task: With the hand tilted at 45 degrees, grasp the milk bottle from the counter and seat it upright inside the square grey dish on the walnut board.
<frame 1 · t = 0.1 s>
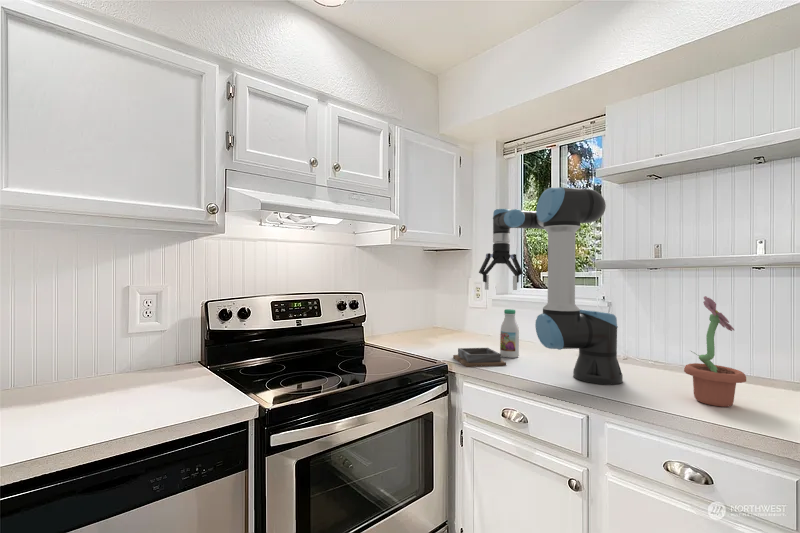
hand: (500, 289, 184), 28 cm above the countertop, tool pointing down, fingers open, 13 cm apart
milk bottle: (509, 356, 173), on the countertop
square grey dish: (478, 361, 162), on the countertop
decorative flower: (714, 404, 113), on the countertop
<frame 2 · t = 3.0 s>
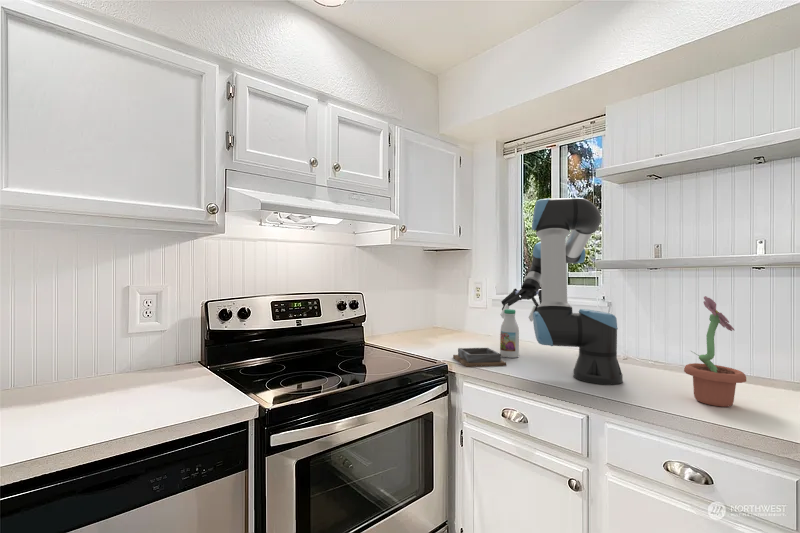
hand: (515, 318, 178), 16 cm above the countertop, tool tilted 45°, fingers open, 13 cm apart
nothing on the countertop moved.
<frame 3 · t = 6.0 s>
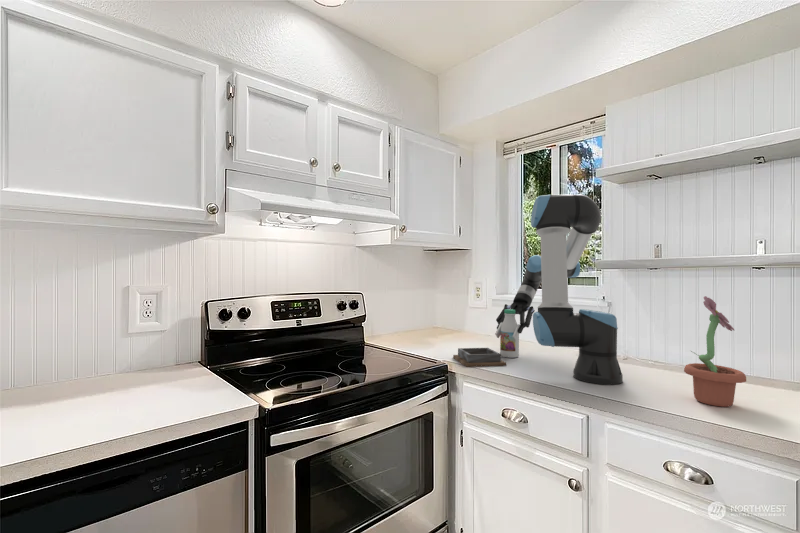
hand: (505, 337, 170), 9 cm above the countertop, tool tilted 45°, fingers closed on milk bottle, 7 cm apart
milk bottle: (509, 356, 173), on the countertop, touching gripper
everything else where it was.
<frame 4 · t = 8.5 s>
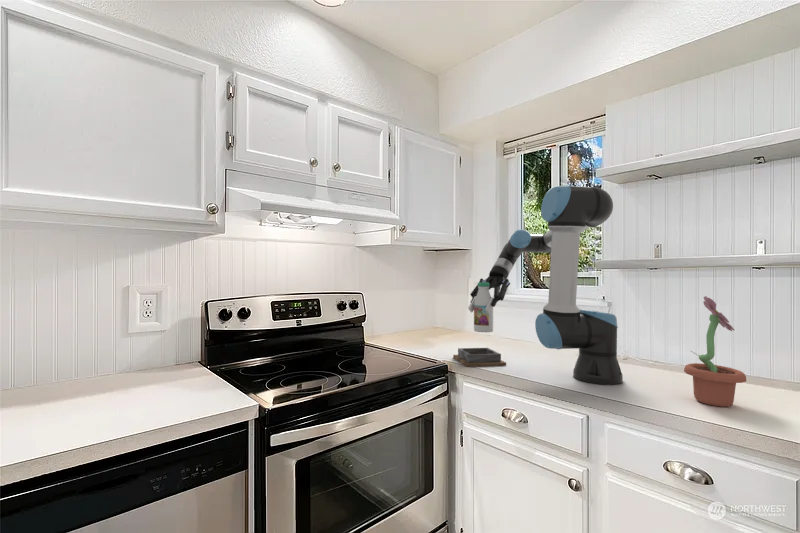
hand: (478, 310, 162), 20 cm above the countertop, tool tilted 45°, fingers closed on milk bottle, 7 cm apart
milk bottle: (483, 331, 165), point 12 cm above the countertop, touching gripper
everything else where it was.
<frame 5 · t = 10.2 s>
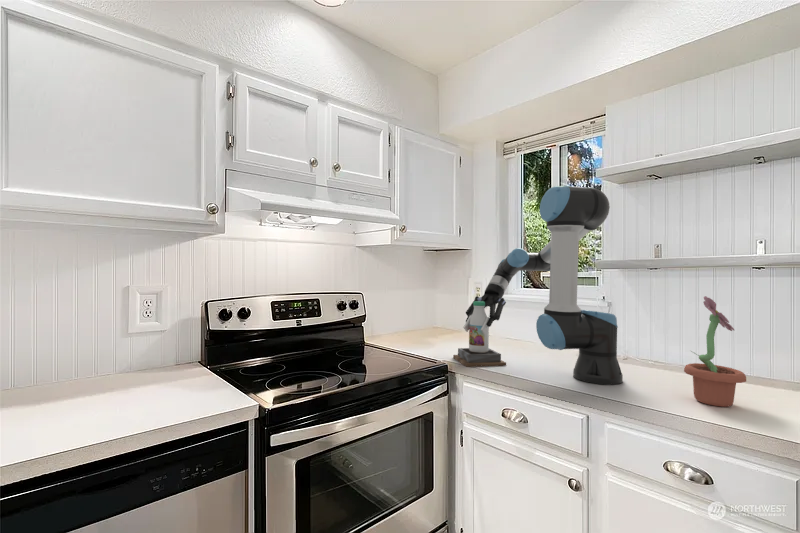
hand: (474, 330, 160), 13 cm above the countertop, tool tilted 45°, fingers closed on milk bottle, 7 cm apart
milk bottle: (478, 351, 162), point 4 cm above the countertop, touching gripper
everything else where it was.
when the fingers open (11 cm above the countertop, at t = 11.3 s): milk bottle drops 1 cm, resting on square grey dish.
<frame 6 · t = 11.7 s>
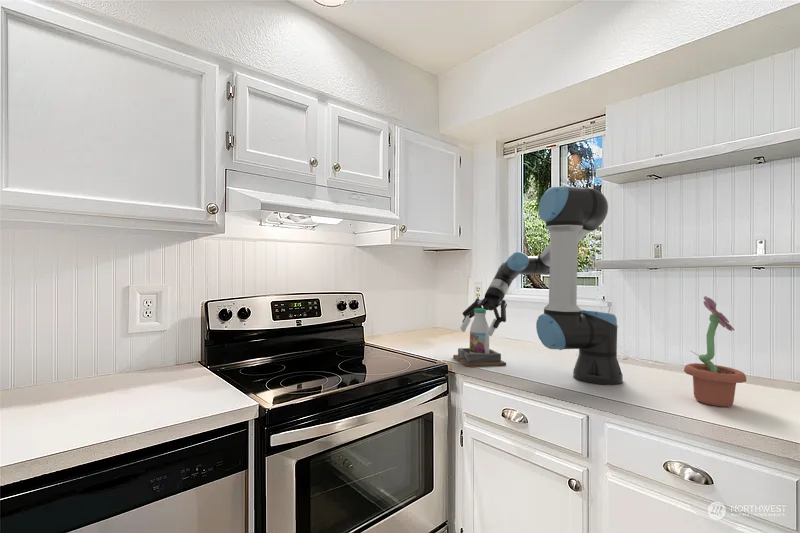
hand: (475, 331, 160), 12 cm above the countertop, tool tilted 45°, fingers open, 12 cm apart
milk bottle: (479, 359, 162), point 1 cm above the countertop, touching square grey dish
everything else where it was.
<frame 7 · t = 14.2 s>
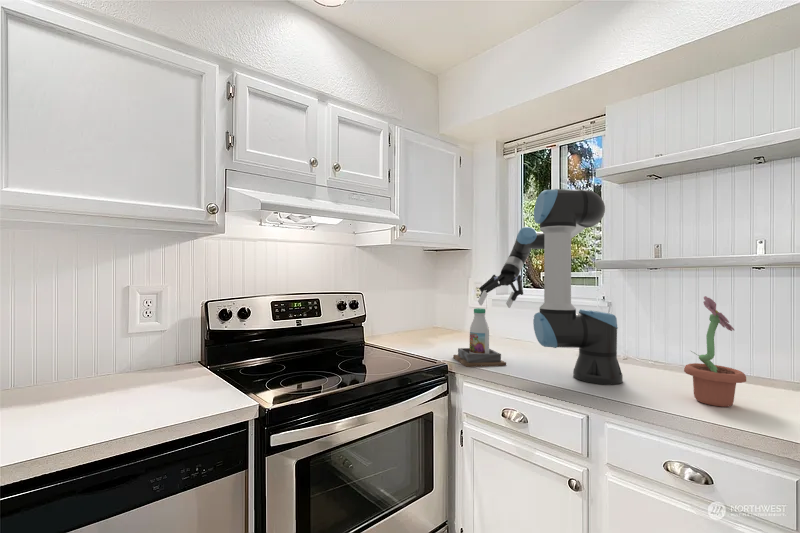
hand: (493, 304, 170), 22 cm above the countertop, tool tilted 45°, fingers open, 13 cm apart
nothing on the countertop moved.
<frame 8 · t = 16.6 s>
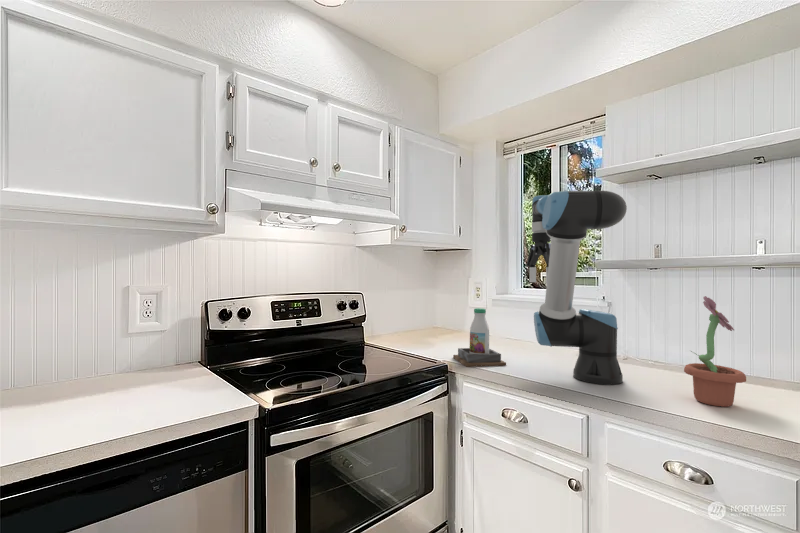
hand: (540, 282, 171), 32 cm above the countertop, tool pointing down, fingers open, 13 cm apart
nothing on the countertop moved.
at the end: milk bottle 0.1 cm off-centre on the square grey dish, point 1.0 cm above the square grey dish's base; milk bottle tilted 0°; the gripper is holding nothing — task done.
